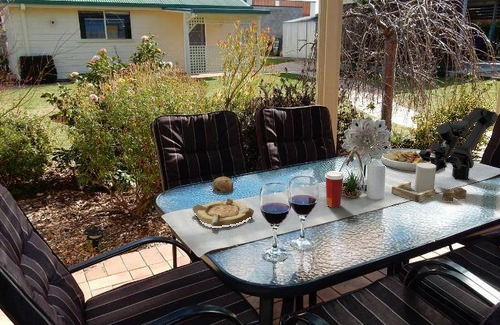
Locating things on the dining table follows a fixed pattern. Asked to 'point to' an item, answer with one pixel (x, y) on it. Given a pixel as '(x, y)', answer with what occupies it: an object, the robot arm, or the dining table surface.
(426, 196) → the open wooden frame
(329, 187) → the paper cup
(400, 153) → the bowl
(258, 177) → the dining table surface
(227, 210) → the ashtray
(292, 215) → the dining table surface
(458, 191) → the walnut block
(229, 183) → the bread roll
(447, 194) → the walnut block
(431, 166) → the cup
